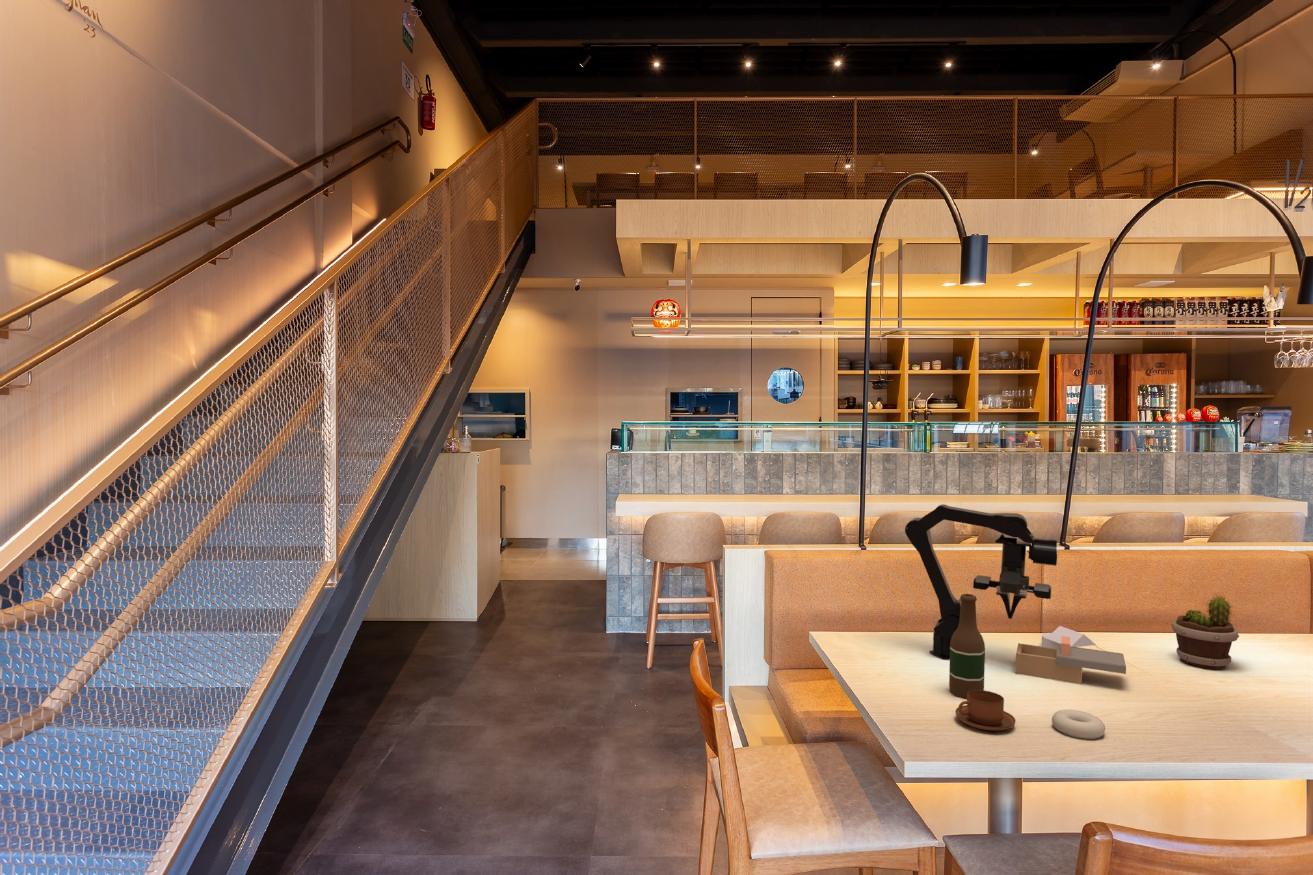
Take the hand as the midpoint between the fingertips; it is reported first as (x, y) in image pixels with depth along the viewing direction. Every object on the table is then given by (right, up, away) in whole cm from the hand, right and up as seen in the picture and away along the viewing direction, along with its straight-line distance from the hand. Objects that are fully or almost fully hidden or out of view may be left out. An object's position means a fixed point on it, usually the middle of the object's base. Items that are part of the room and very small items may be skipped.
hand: (1010, 618), depth 202 cm
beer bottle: (-21, -13, -21) cm, 32 cm away
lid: (+15, -9, -10) cm, 21 cm away
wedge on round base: (+22, -13, +13) cm, 28 cm away
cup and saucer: (-24, -14, -38) cm, 47 cm away
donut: (-5, -14, -42) cm, 44 cm away
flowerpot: (+54, -13, +3) cm, 55 cm away
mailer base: (+7, -13, -6) cm, 16 cm away
